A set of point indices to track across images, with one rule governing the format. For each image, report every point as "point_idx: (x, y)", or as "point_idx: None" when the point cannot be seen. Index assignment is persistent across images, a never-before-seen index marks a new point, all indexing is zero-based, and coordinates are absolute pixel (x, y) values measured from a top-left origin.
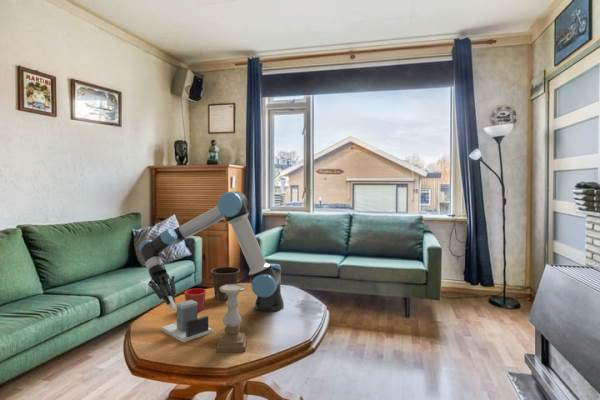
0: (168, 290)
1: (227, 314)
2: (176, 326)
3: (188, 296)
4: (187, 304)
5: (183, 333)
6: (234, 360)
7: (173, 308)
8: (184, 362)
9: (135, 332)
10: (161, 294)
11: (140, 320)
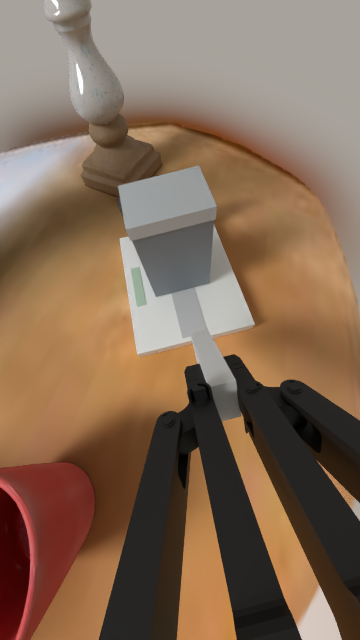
0: (230, 449)
1: (104, 60)
2: (205, 303)
3: (46, 517)
4: (170, 177)
5: None
6: (149, 136)
7: (207, 332)
8: (229, 154)
9: (350, 360)
10: (306, 393)
11: None
